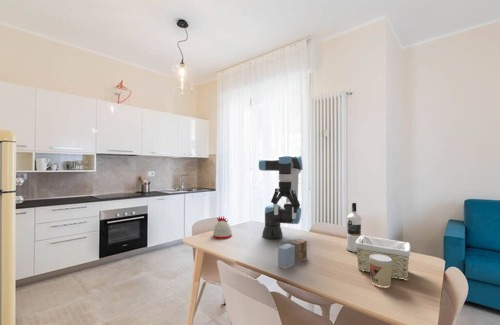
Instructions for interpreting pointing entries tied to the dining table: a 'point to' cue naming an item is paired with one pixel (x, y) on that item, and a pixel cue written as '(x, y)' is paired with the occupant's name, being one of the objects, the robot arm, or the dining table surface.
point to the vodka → (353, 229)
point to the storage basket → (384, 247)
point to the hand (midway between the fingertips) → (284, 216)
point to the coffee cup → (380, 269)
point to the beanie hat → (222, 229)
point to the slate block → (286, 255)
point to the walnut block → (300, 249)
